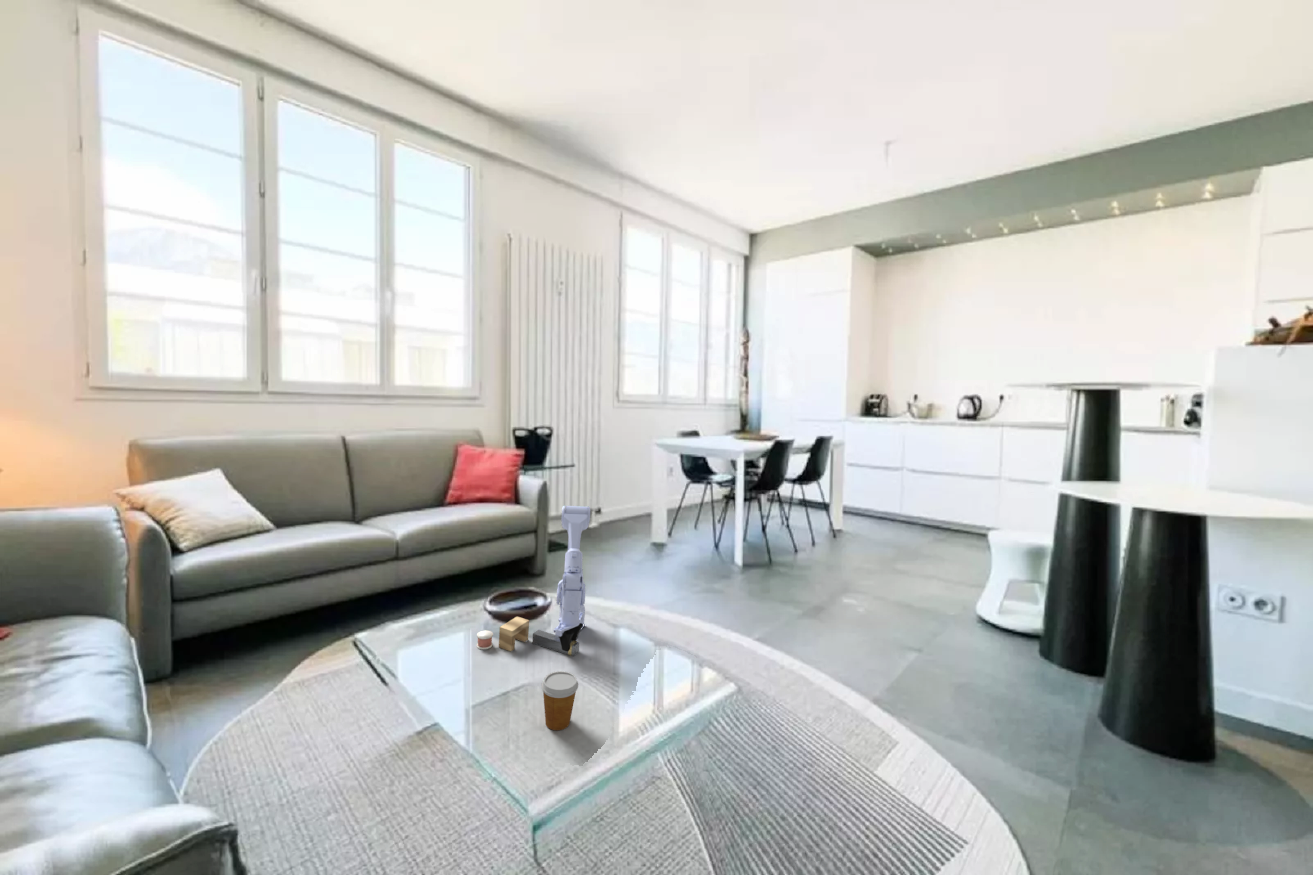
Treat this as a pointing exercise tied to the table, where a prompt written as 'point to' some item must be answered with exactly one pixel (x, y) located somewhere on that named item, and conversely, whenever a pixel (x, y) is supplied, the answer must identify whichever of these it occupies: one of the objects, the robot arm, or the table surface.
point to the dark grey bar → (554, 642)
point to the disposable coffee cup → (559, 698)
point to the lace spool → (484, 639)
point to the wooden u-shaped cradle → (513, 633)
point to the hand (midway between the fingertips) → (568, 647)
